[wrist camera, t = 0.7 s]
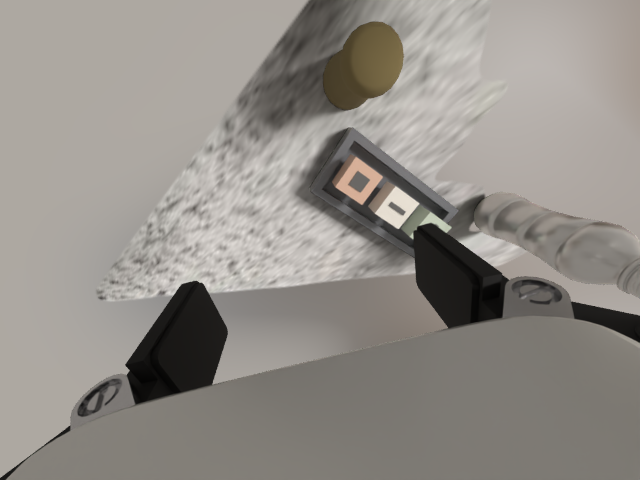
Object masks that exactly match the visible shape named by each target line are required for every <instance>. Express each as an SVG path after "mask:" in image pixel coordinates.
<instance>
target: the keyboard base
mask: <svg viewBox="0 0 640 480" xmlns="http://www.w3.org/2000/svg"><path fill="white" fill-rule="evenodd" d="M350 154H351V155H353V156H356V157H357V158H358V159H360V160H361V161H363V162H364V163H365V164H367V165H368V166H369V167H371V168H372V169H373V170H375V171H376V172H377V173H379V174H380V175H381V176H383V178H382V179H381V180H380V182H379V183H378V184H377V186H376V187H375V188H374V190H373V191H372V192H371V194H370V195H369V197H368V198H367V199H366V201H365V202H364V203H363V205H361V204H360V203H358V202H357V201H355V200H354V199H352V198H351V197H349V196H348V195H346V194H345V193H343V192H342V191H340V190H339V189H337V188H336V187H335V186H334V184H333V183H332V181H333V179H334V178H335V176H336V175H337V173H338V172H339V170H340V169H341V167H342V166H343V164H344V163H345V161H346V160H347V158H348V157H349V155H350ZM387 181H388V182H390V183H391V184H393V185H395V186H396V187H398V188H399V189H400V190H402V191H403V192H404V193H406V194H407V195H409V196H410V197H411V198H413V199H414V200H415V201H417V202H418V203H419V205H420V206H422V207H424V208H425V209H427V210H428V211H430V212H432V213H433V214H434V215H436V216H437V217H438V218H440V219H441V220H442V221H444V222H445V223H446V224H448V223H449V221H450V220H451V219H452V218H453V217H454V216H455V215H456V214H457V212H458V211H459V210H458V209H456V208H455V207H454V206H452V205H451V204H450V203H449V202H447V201H446V200H445V199H444V198H442V197H441V196H440V195H438V194H437V193H436V192H435V191H433V190H432V189H431V188H429V187H428V186H427V185H426V184H424V183H423V182H422V181H420V180H419V179H418V178H417V177H415V176H414V175H413V174H412V173H410V172H409V171H408V170H406V169H405V168H404V167H403V166H401V165H400V164H399V163H397V162H396V161H395V160H394V159H392V158H391V157H390V156H388V155H387V154H386V153H385V152H383V151H382V150H381V149H380V148H378V147H377V146H376V145H374V144H373V143H372V142H371V141H369V140H368V139H367V138H365V137H364V136H363V135H362V134H360V133H359V132H358V131H357V130H355V129H354V128H348V129H347V131H346V132H345V134H344V135H343V137H342V139H341V140H340V142H339V143H338V145H337V146H336V148H335V149H334V151H333V152H332V154H331V156H330V157H329V159H328V160H327V162H326V163H325V165H324V166H323V168H322V169H321V171H320V173H319V174H318V176H317V177H316V179H315V180H314V182H313V183H312V185H311V186H310V190H311V192H312V193H313V194H315V195H316V196H318V197H319V198H321V199H323V200H324V201H326V202H327V203H329V204H330V205H332V206H334V207H335V208H337V209H338V210H340V211H341V212H343V213H345V214H346V215H348V216H349V217H351V218H352V219H354V220H356V221H357V222H359V223H360V224H362V225H363V226H365V227H367V228H368V229H370V230H371V231H373V232H374V233H376V234H378V235H379V236H381V237H382V238H384V239H385V240H387V241H389V242H390V243H392V244H393V245H395V246H396V247H398V248H400V249H401V250H403V251H404V252H406V253H407V254H409V255H411V256H412V257H414V258H415V254H414V239H412V238H411V237H409V236H408V235H407V234H406V233H405V232H404V231H403V230H402V229H401V227H402V226H403V225H404V223H405V222H406V221H407V220H408V218H409V217H410V216H411V215H412V214H413V212H414V211H415V210H416V209H417V208H418V206H419V205H418V206H417V207H416V209H415V210H414V211H413V212H412V213H411V215H410V216H409V217H408V218H407V219H406V221H405V222H404V223H403V224H402V226H401V227H400V228H399V229H397V228H396V227H394V226H393V225H391V224H390V223H388V222H387V221H385V220H384V219H382V218H381V217H379V216H378V215H376V214H375V213H374V212H373V211H372V210H371V209H370V208H369V207H368V206H369V204H370V203H371V202H372V200H373V199H374V198H375V196H376V195H377V194H378V192H379V191H380V190H381V188H382V187H383V186H384V184H385V183H386V182H387Z"/></svg>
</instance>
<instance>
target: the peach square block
mask: <svg viewBox="0 0 640 480" xmlns="http://www.w3.org/2000/svg"><path fill="white" fill-rule="evenodd" d="M382 178H383V176H381V175H380V174H379V173H377V172H376V171H375V170H373V169H372V168H371V167H369V166H368V165H367V164H365V163H364V162H363V161H361V160H360V159H358V158H357V157H356V156H353V155H351V154H350V155H349V157H348V158H347V160H346V161H345V163H344V164H343V166H342V167H341V169H340V170H339V172H338V173H337V175H336V176H335V178H334V179H333V181H332V183H333V184H334V186H335V187H336V188H337V189H339V190H340V191H342V192H343V193H345V194H346V195H348V196H349V197H351V198H352V199H354V200H355V201H357V202H358V203H360V204H361V205H363V203H364V202H365V201H366V199H367V198H368V197H369V195H370V194H371V192H372V191H373V190H374V188H375V187H376V186H377V184H378V183H379V182H380V180H381V179H382Z"/></svg>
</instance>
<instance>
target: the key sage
mask: <svg viewBox="0 0 640 480" xmlns="http://www.w3.org/2000/svg"><path fill="white" fill-rule="evenodd" d="M428 223H433V224H435V225H436V226H437V227H439V228H440V229H442V230H443V231H444V232H446V233H447V232H448V231H449V230H450V229H451V228H452V227H450V226H449V225H448V224H446V223H445V222H444V221H442V220H441V219H440V218H438V217H437V216H436V215H434V214H433V213H432V212H430V211H428V210H427V209H425V208H424V207H422V206H420V205H419V206H418V208H417V209H416V210H415V211H414V212H413V214H412V215H411V216H410V217H409V218H408V220H407V221H406V222H405V223H404V225H403V226H402V227H401V229H402V230H403V231H404V232H405V233H406V234H407V235H408V236H409V237H411V238H412V239H413V231H414V230H417V227H418V226H420V225H424V224H428Z"/></svg>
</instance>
